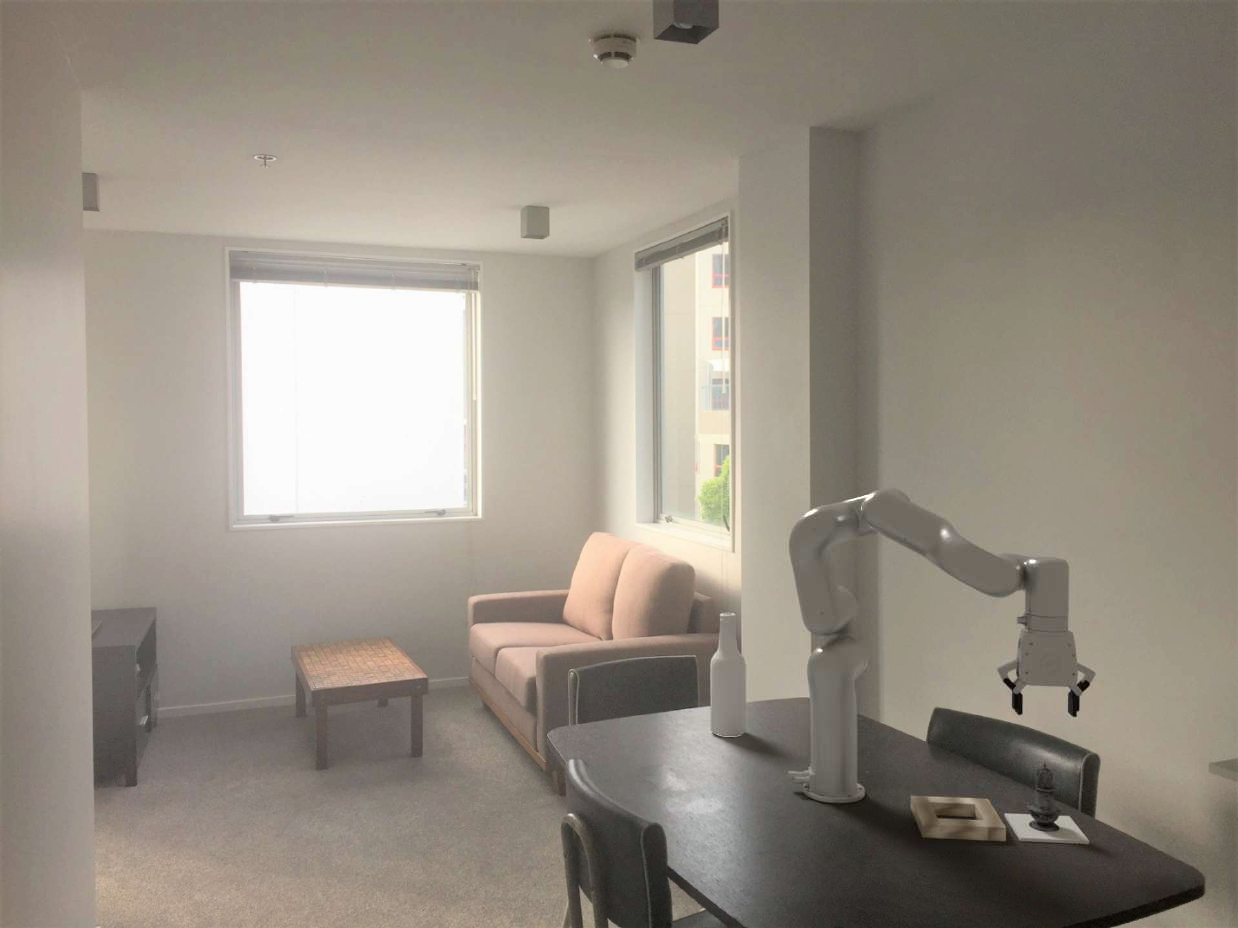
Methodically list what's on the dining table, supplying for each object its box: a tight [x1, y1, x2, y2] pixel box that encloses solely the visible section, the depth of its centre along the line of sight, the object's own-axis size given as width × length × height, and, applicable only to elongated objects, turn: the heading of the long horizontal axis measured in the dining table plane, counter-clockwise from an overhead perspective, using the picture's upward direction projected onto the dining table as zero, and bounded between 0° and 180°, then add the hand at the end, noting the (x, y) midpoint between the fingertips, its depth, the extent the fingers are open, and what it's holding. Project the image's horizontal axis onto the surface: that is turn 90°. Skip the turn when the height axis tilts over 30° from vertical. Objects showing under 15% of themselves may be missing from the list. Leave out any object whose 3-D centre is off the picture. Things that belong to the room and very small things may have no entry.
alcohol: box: [709, 612, 747, 736], centre depth 253 cm, size 9×9×30 cm
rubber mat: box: [1004, 813, 1090, 845], centre depth 191 cm, size 12×12×1 cm
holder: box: [910, 795, 1007, 842], centre depth 194 cm, size 15×15×2 cm
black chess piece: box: [1027, 762, 1062, 832], centre depth 191 cm, size 6×6×12 cm
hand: (1045, 713), depth 190 cm, fingers open, 9 cm apart
